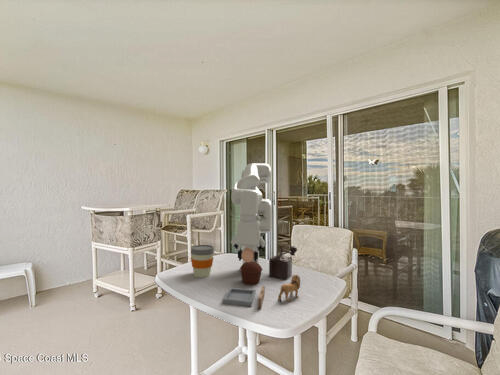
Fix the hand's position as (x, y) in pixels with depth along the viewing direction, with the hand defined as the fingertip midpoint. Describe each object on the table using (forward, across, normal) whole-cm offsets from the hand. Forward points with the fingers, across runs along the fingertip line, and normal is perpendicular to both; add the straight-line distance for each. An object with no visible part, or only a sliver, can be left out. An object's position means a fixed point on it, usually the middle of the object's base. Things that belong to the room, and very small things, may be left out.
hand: (247, 259), depth 104 cm
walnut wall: (+17, -6, +1) cm, 18 cm away
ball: (+1, 0, 0) cm, 1 cm away
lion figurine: (+17, -18, -5) cm, 26 cm away
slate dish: (+17, +3, 0) cm, 17 cm away
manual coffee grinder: (+18, -16, -32) cm, 40 cm away
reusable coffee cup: (+18, +29, -25) cm, 42 cm away
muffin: (+18, +1, -20) cm, 27 cm away
